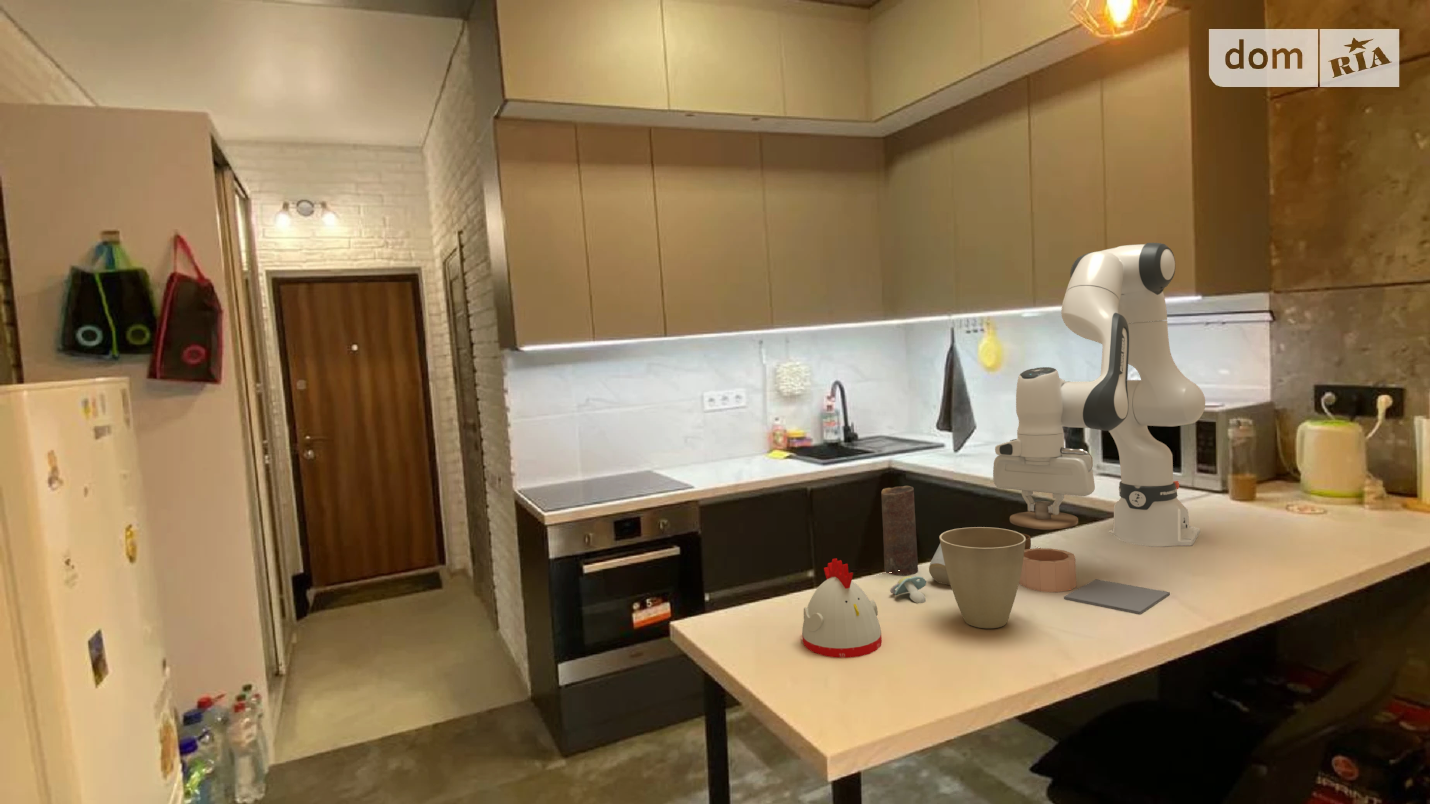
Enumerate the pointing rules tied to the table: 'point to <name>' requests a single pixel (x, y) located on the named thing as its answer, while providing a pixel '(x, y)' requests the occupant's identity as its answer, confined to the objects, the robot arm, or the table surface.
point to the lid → (1043, 518)
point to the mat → (1117, 596)
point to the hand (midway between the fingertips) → (1043, 513)
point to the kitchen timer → (841, 617)
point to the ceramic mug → (939, 567)
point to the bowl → (1048, 570)
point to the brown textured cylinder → (899, 531)
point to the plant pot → (983, 572)
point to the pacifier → (910, 588)
